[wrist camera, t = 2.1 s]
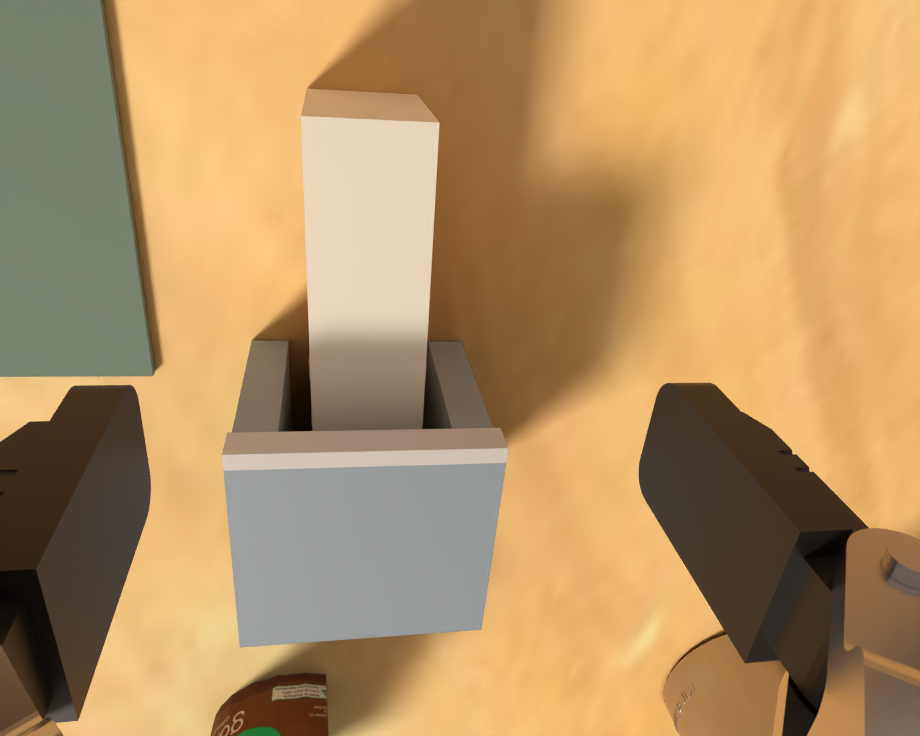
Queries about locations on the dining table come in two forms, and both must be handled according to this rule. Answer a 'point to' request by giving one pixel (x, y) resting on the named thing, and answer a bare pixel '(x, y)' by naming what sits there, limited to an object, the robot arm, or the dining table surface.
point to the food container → (276, 708)
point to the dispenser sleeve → (361, 511)
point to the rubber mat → (65, 200)
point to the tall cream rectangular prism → (368, 255)
